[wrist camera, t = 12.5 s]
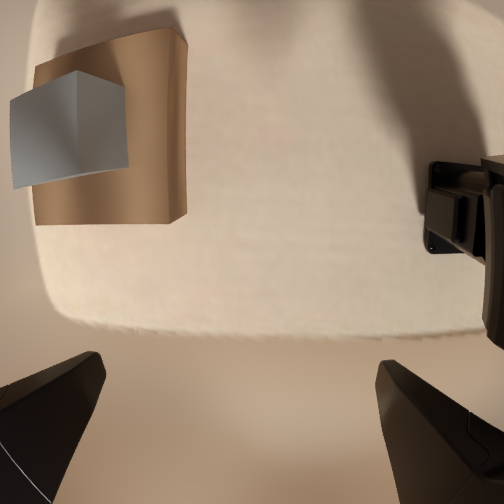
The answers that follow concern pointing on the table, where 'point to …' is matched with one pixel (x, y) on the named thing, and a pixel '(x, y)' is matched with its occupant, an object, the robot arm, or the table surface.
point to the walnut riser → (128, 135)
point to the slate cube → (67, 130)
